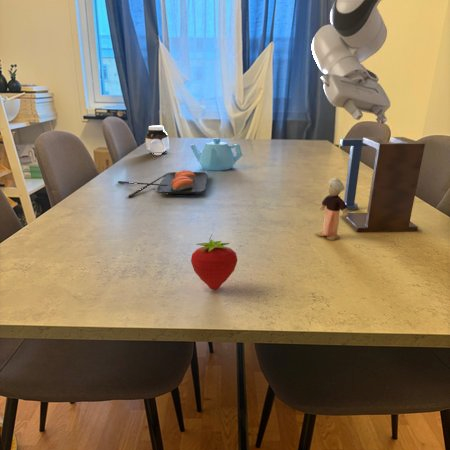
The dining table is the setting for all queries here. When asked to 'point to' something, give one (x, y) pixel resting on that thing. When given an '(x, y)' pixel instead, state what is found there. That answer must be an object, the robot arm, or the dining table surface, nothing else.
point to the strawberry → (214, 263)
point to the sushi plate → (178, 183)
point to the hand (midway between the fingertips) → (371, 120)
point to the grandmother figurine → (333, 209)
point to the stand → (391, 186)
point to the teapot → (217, 155)
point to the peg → (352, 170)
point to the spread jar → (157, 140)
